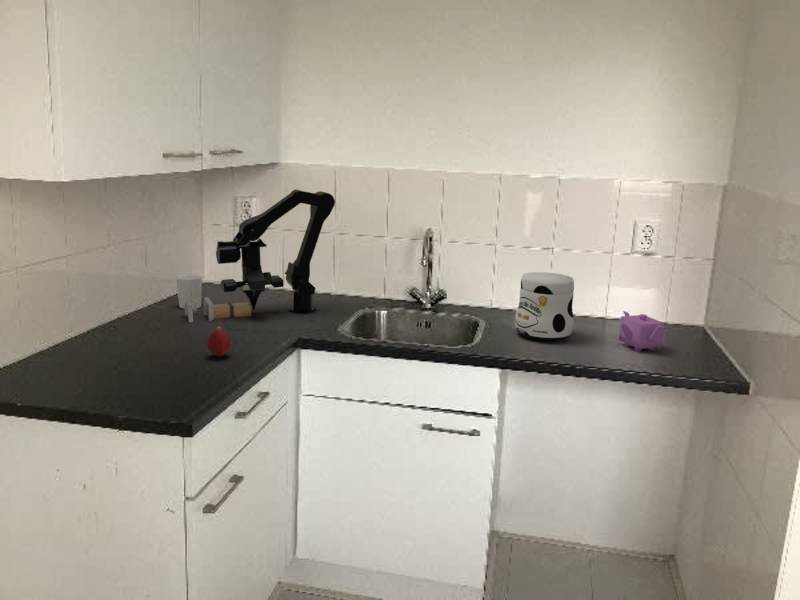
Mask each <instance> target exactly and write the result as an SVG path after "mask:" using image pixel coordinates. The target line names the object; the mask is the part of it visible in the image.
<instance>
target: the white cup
mask: <svg viewBox="0 0 800 600" xmlns="http://www.w3.org/2000/svg"><path fill="white" fill-rule="evenodd" d="M175 278H176V287H177V288H176V289H177V298H178V306H179V308H180V309H182V308H183V310H185V304H184V299H189V300H190V302H191V303H192V305H193V310H194V299H197V301H198V303H197V309H199V308H201V307H202V291H203V289H202V288H203V277H202V275H201V274H190V273H189V274H180V275H178V276H176V277H175Z"/></svg>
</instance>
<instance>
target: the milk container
mask: <svg viewBox="0 0 800 600" xmlns="http://www.w3.org/2000/svg"><path fill="white" fill-rule="evenodd" d="M574 290H575V280H574V278H573V277H571V276H569V275H565V274H561V273H556V272H555V273H553V272H542V271H541V272H540V271H538V272H534V271H533V272H526V273H524V274H522V275H521V279H520V289H519V302H518V306H517V308H516V312H515V314H514V315H515V316H514V326H515V329H516V331H517V332H518V333H519V335H522V336H524V337H527V338H530V339H535V340H541V341H542V340H543V341H556V340H557V341H558V340H564V339H566V338H568V337H569V336H570V335H571V334H572V332H573V329H574V326H575V318H574V314H573V313H574V312H573V302H574V301H573V300H574V294H575V293H574Z"/></svg>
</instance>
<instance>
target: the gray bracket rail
mask: <svg viewBox="0 0 800 600" xmlns="http://www.w3.org/2000/svg"><path fill="white" fill-rule="evenodd" d="M203 299H204V300H203V301H204V302H203V303H204V305H203V309H204V310H203V311H204V316H208V321H209V322H210V321H212V322H213V321H214V319H213V304H214V303H213V301H212V300H211V299H210V298H209V297H208V296H207V297H203ZM197 303H198V301H197V299H194V309H193V305H192V303H191V302H190V300H189V299H184V304H185V309H184V317H185V318H186V317H187V319H188V323H194V314H197V313H198V308H197Z"/></svg>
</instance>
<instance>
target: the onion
mask: <svg viewBox="0 0 800 600" xmlns="http://www.w3.org/2000/svg"><path fill="white" fill-rule="evenodd" d="M206 347H207V349H208V351H209V352H210V353H211V354H213V355H214V356H215V357H218V358H220V357H222V356H223V355H225V353H227V352H228V350H229V349H231V337H230V336H229V334H227V332H225V331H223V330H222V327H221V326H217V327H216V329H215V330H213V331H212V332H211V333H210V334H209V336H208V338H207V340H206Z"/></svg>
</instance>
